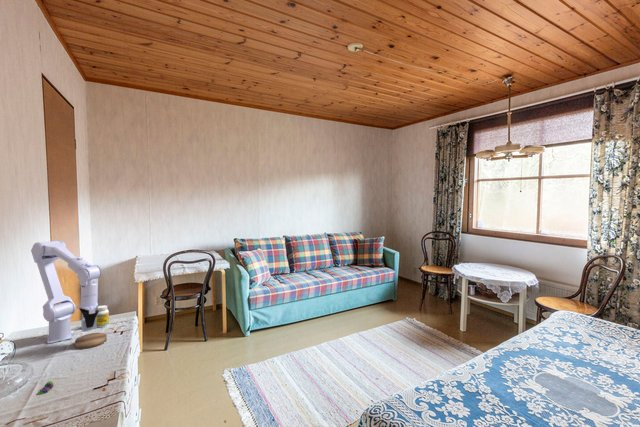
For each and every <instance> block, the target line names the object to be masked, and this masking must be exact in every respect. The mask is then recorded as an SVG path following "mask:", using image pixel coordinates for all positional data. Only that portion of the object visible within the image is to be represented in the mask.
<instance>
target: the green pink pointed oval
mask: <svg viewBox="0 0 640 427" xmlns="http://www.w3.org/2000/svg"><path fill="white" fill-rule="evenodd" d="M53 387H54V381H51V380H50V381H48V382H46V383H45V384H44V386H43V387H42V388H41V389H40V390H39V391H38V393H37V394H35V395H36V396H42V395H44V394H48V392H50V390H51V389H53Z"/></svg>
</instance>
